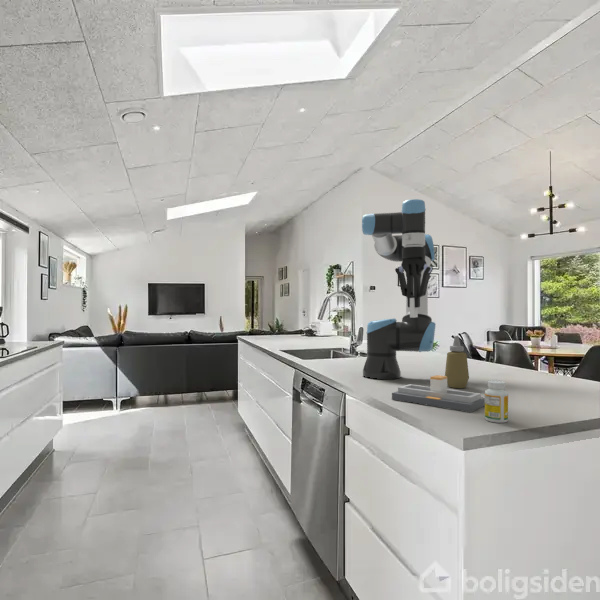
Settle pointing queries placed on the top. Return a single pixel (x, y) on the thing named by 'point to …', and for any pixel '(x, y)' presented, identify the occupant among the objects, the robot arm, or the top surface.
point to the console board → (440, 397)
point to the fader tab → (438, 384)
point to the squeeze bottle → (457, 366)
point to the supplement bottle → (496, 402)
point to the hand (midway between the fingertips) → (413, 317)
